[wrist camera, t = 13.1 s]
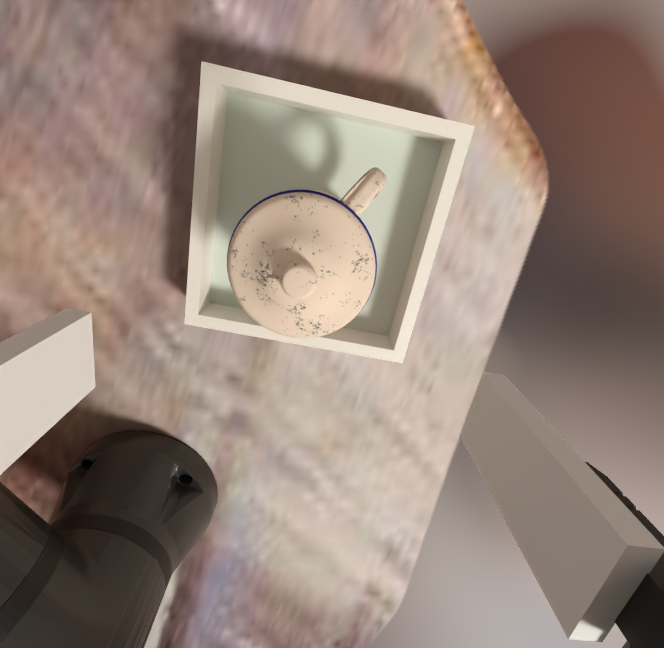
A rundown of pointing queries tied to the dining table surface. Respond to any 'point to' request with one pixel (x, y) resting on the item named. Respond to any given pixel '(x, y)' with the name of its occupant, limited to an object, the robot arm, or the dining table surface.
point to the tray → (323, 175)
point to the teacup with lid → (305, 259)
